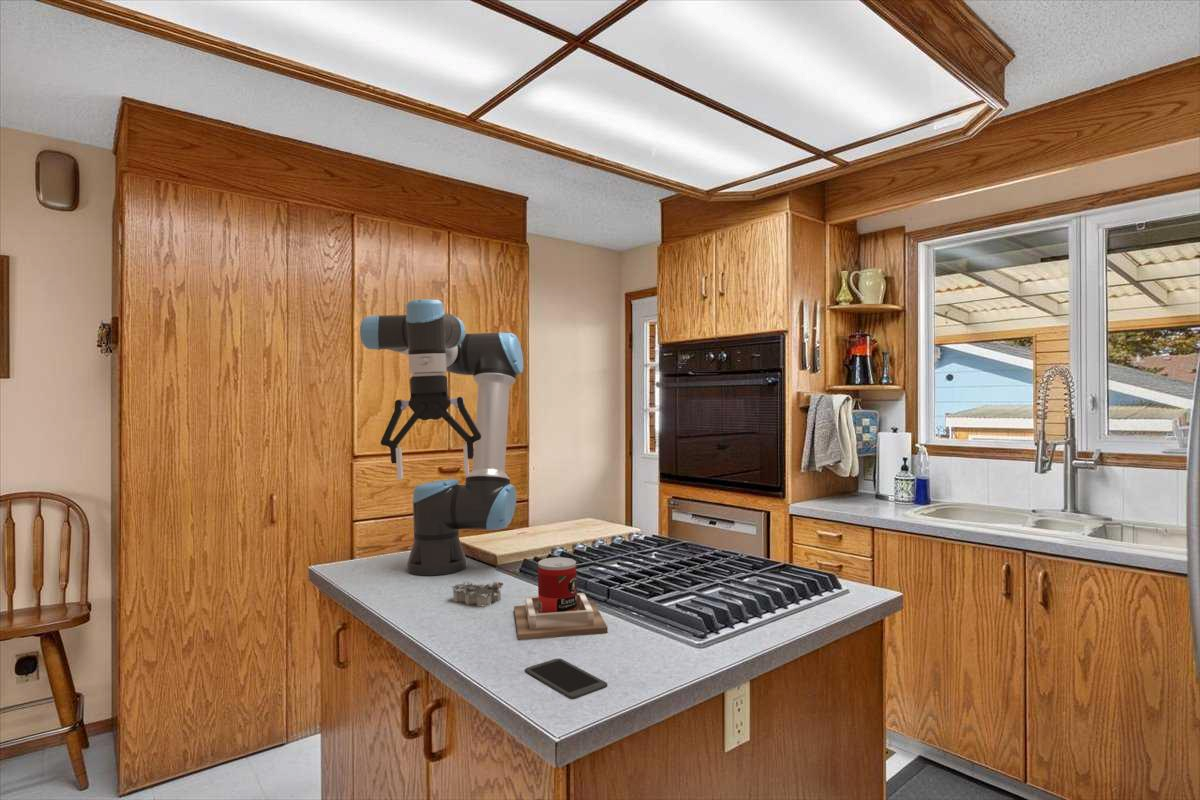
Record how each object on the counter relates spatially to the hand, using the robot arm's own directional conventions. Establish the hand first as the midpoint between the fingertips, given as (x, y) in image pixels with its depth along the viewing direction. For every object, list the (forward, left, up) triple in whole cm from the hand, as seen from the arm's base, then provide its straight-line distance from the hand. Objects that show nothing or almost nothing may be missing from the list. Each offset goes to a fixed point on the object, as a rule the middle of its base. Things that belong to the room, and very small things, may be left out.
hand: (433, 476), depth 139 cm
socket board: (+9, +25, -29) cm, 39 cm away
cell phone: (+36, +23, -30) cm, 52 cm away
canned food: (+9, +24, -28) cm, 38 cm away
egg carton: (-9, +8, -30) cm, 32 cm away
